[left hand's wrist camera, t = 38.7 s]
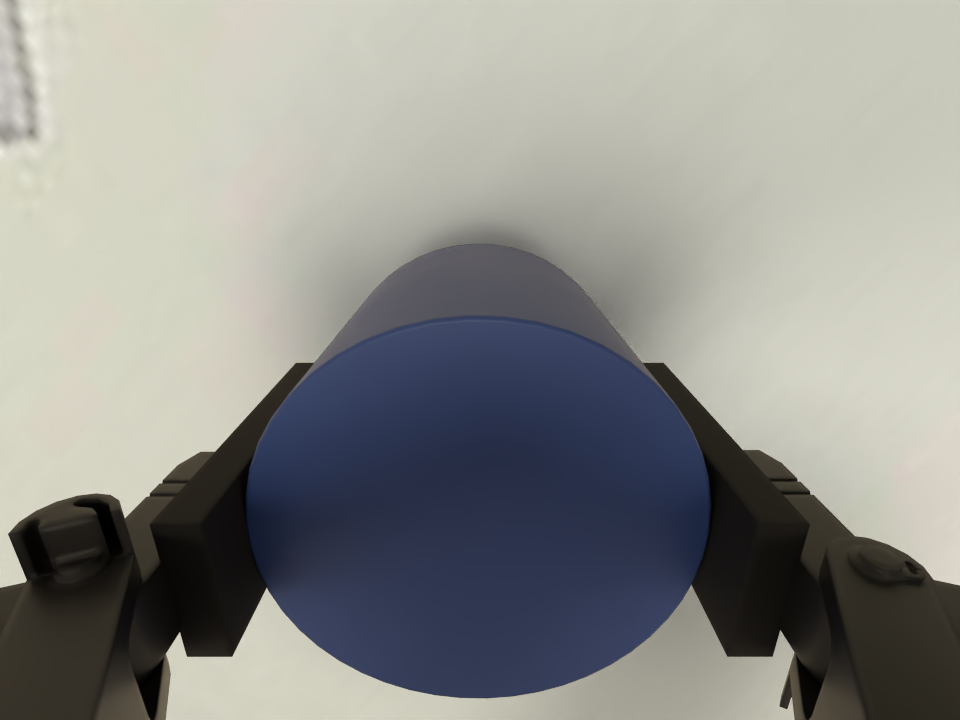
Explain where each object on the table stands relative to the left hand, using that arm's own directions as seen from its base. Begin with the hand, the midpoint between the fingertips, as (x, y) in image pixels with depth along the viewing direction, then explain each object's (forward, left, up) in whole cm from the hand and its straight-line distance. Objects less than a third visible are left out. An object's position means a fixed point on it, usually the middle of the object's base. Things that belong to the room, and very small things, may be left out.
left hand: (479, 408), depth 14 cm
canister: (0, 0, -2) cm, 2 cm away
